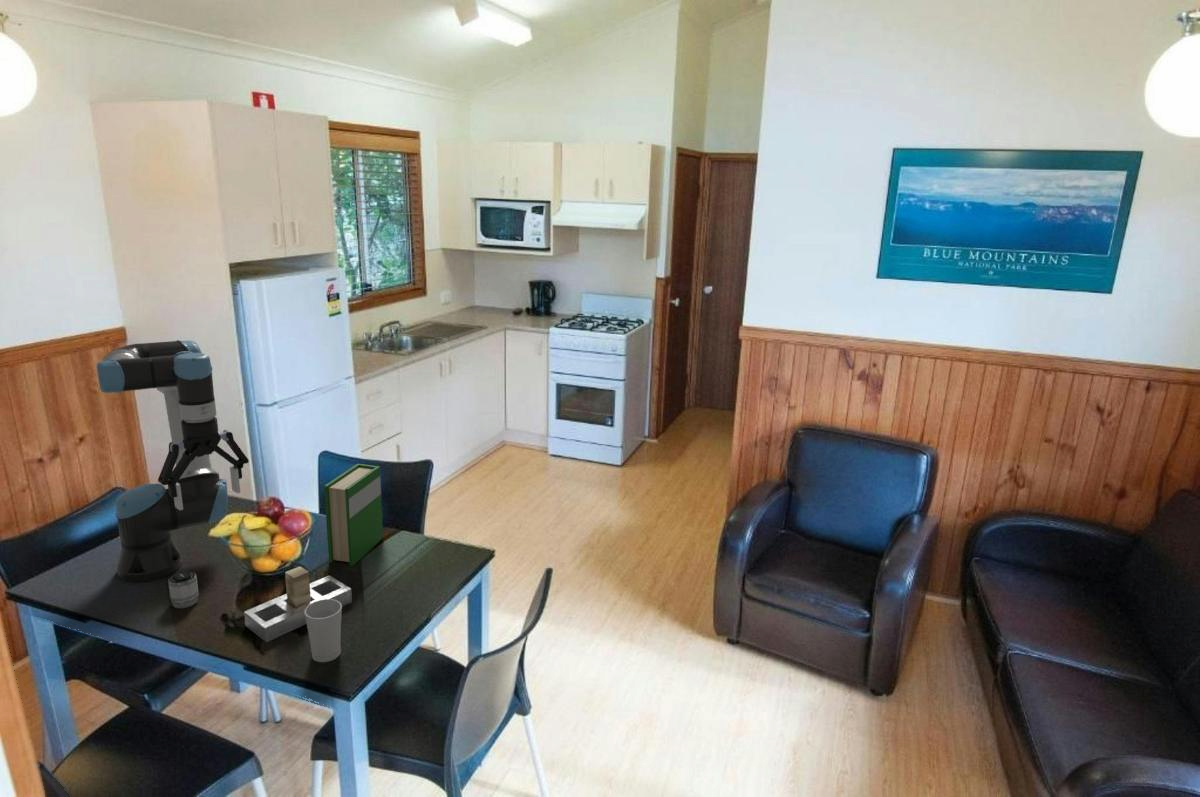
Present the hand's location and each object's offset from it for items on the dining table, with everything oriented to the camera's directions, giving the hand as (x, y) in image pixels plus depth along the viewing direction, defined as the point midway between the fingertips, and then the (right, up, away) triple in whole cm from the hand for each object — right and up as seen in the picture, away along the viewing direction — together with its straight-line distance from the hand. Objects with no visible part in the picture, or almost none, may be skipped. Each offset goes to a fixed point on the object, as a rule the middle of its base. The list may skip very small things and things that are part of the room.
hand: (208, 499), depth 174 cm
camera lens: (-10, -28, +7) cm, 30 cm away
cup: (+33, -35, -10) cm, 49 cm away
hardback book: (+24, -21, +37) cm, 49 cm away
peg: (+21, -30, +5) cm, 36 cm away
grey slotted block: (+21, -30, +5) cm, 37 cm away
